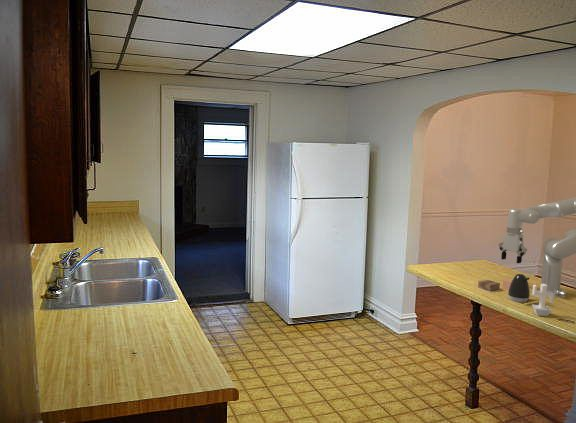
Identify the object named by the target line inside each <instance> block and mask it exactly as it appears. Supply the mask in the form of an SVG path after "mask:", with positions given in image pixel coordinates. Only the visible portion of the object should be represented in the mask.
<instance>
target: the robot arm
mask: <svg viewBox="0 0 576 423" xmlns="http://www.w3.org/2000/svg"><path fill="white" fill-rule="evenodd" d="M575 214H576V197H575V196H574V197H571V198H567V199H564V200H559V201H554V202H549V203H544V204H539V205H533V206H529V207H526V208H523V209H520V208H509V210H508V215H507V223H506V231H505V234H504V236H503V241H502V242H500V243H498V247H499V250H500V253H501V260H506V259H507V251H508V252H513V253H516V254H517V256H516V264H521V263H522V261H523V260H522V259H523V257H524V255H525V254H526V253H527V251H528V249H527V248H526V247H525V246H524V235H523V233H524V230H523V223H525V224H531V225H532V224H536V223H538V222H539V220H540V219H542V218H543V219H544V218H561V217H566V216H571V215H575ZM543 243H544V244H543V247H542V252H543V254H542V256H543V257H542V259H543V260H542V268H541V269H542V270H541V279H540V280H541V281H540V285H541V284H545V285H547V289H546V292H553V294H554V297H555V298H561V297H563V296H564V297H565V296H566V294H567V292H566V291H564V290H563V288H562V287H561V283H562V282H561V281H562V280H561V279H562V274H563V273H562V271H563V263H564V261H563V259H566V258H567V257H570V256H573V255H575V254H576V227H575V228H573V229H570V230H568V231H566V232H565V233H564V235H563V238H562V239H559V238H556V237H552V238H548V239H547V240H545V241H544V242H543ZM537 291H540V289H537Z"/></svg>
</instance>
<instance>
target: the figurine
mask: <svg viewBox="0 0 576 423" xmlns="http://www.w3.org/2000/svg"><path fill="white" fill-rule="evenodd" d="M537 287H538V286H537V285H536V284H533V285H532V296H533V297H538V298H539V301H538V304H533V303H532V304H531V306H532V308H533V311H534V313H535V315H536V316H537V317H539V316H540V317H548V316H549V315H550V314H551V312H552V311H553V310H552V308H551V307H549V305H546V298H549V300H548V303H550V304H553V303H554V298H555V296H554V294H553V292H546V289H547V285H545V284H541V283H540V287H539V290H540V291H537V290H538V289H537Z"/></svg>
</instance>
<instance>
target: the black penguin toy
mask: <svg viewBox="0 0 576 423" xmlns="http://www.w3.org/2000/svg"><path fill="white" fill-rule="evenodd" d="M511 280H512V282H511V284H510V287H509V290H507V291H508V293H507V295H508V297H509V299H510V300H511V301H512V302H515V303H519V304H525V303H527V301H529V298H530V297H531V296H530V295H531V292H530V285H529V282H528V281H529V280H530V277H526V275H524V274H523V273H517V274H515V276H514V277H513V278H512V279H511Z"/></svg>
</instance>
